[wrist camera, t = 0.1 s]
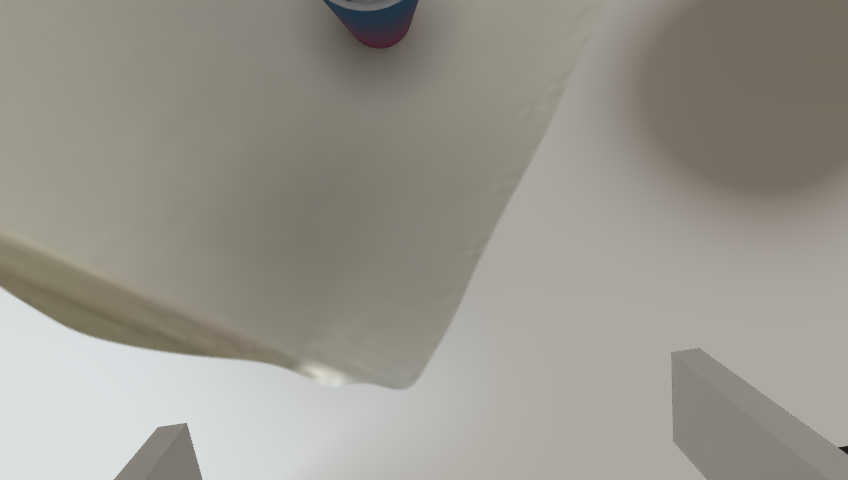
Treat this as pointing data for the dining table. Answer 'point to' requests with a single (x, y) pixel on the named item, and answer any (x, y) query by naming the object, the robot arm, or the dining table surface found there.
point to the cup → (375, 19)
